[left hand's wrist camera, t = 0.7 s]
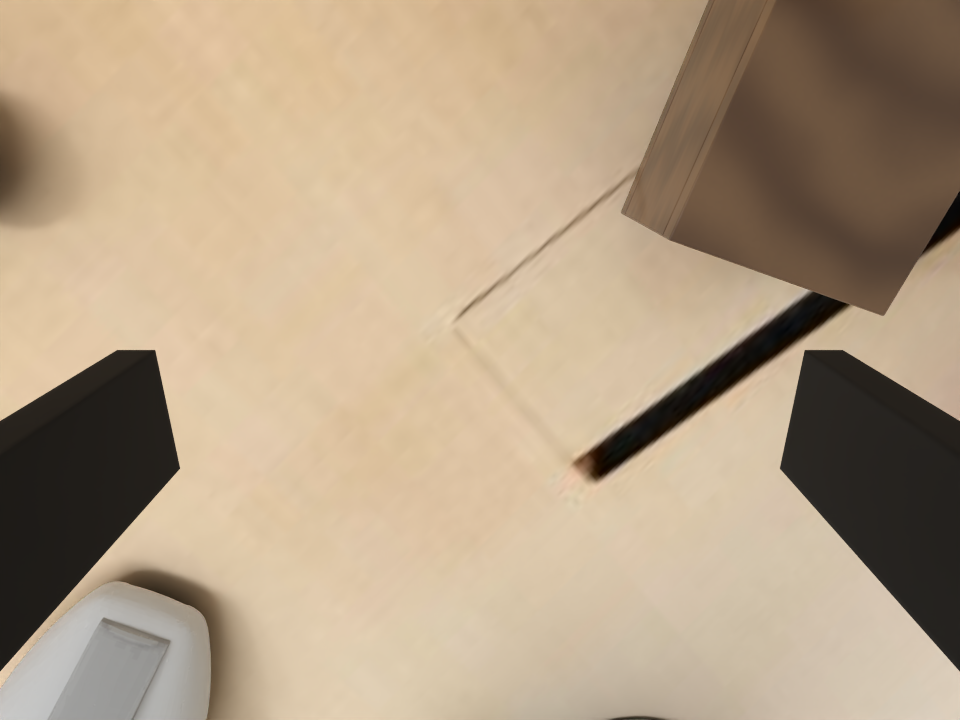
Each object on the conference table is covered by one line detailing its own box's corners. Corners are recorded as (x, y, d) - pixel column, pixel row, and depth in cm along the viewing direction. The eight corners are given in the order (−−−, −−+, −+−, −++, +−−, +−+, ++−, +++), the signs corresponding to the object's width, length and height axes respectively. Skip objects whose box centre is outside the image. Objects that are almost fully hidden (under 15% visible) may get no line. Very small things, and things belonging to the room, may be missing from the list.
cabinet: (776, -164, 29) (910, -298, 20) (969, -77, 31) (1176, -167, 22) (620, 212, 36) (668, 239, 27) (784, 271, 37) (884, 316, 28)
